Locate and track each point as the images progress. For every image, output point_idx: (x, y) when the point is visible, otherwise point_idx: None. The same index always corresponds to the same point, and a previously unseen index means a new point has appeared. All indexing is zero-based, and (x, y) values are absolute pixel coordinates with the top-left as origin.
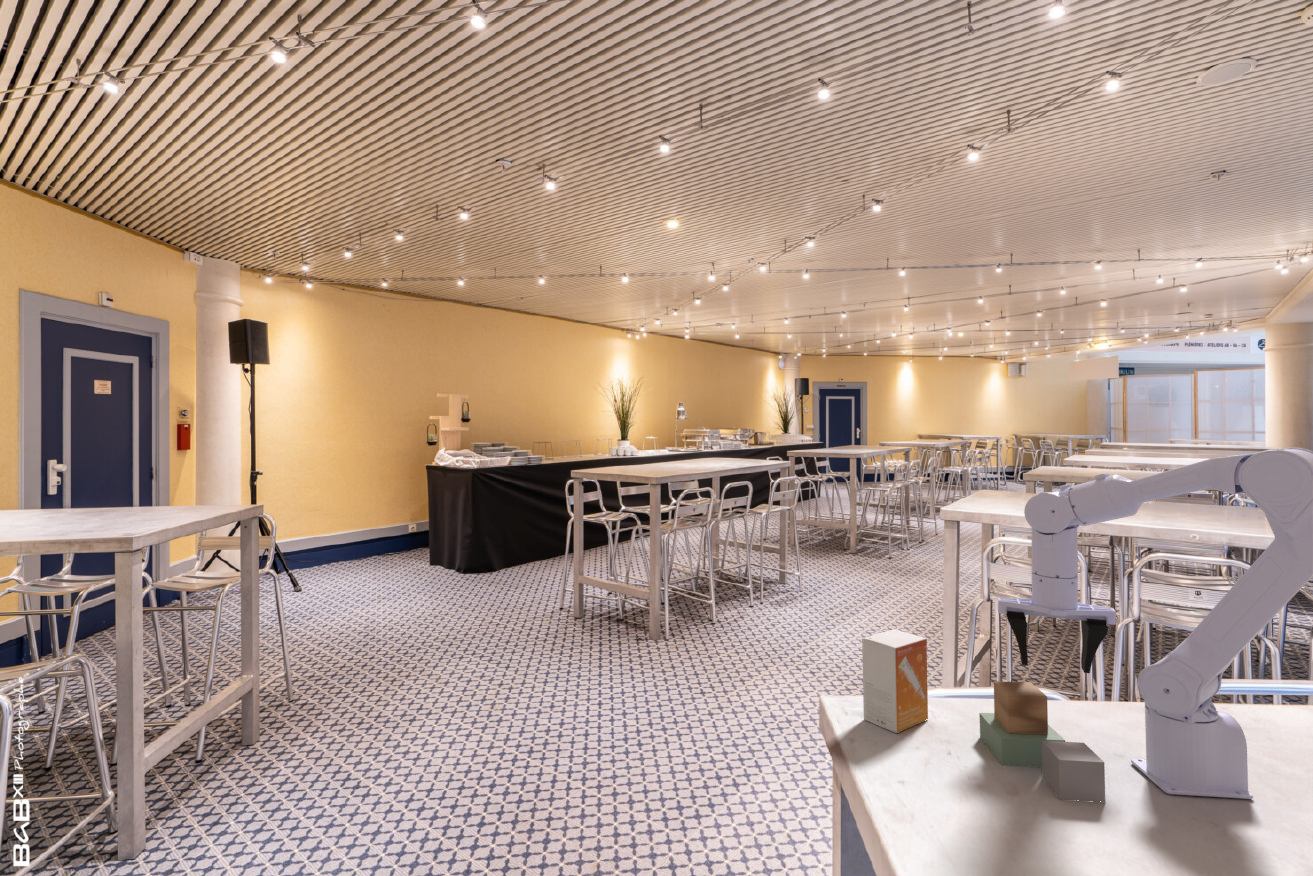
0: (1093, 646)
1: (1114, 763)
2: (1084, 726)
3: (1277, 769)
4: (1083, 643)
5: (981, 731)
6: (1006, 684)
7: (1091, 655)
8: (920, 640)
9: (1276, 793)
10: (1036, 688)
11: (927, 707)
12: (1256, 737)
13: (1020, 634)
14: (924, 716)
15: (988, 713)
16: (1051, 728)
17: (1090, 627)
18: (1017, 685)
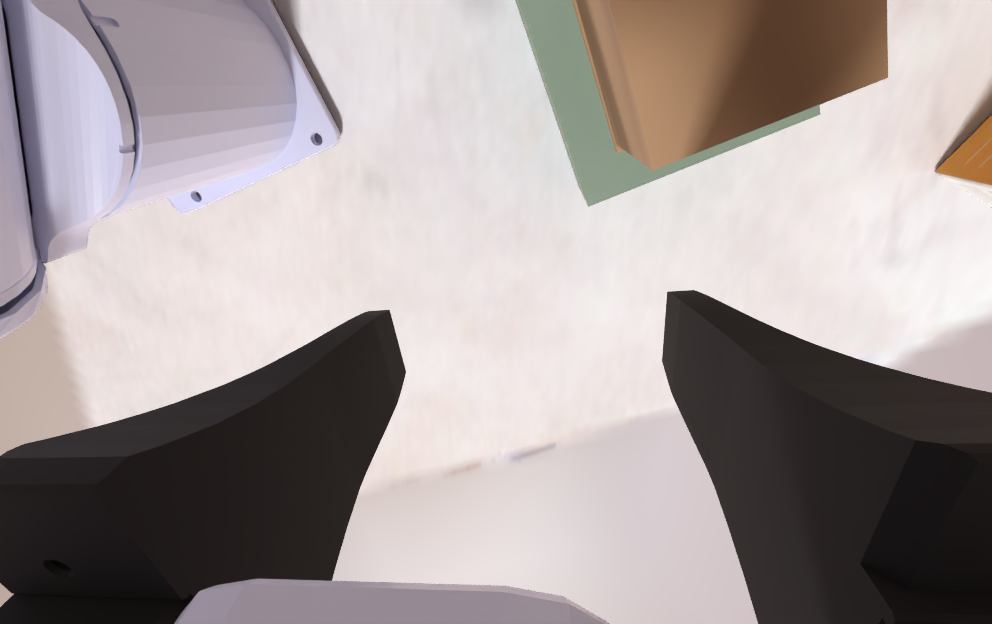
0: (247, 383)
1: (381, 115)
2: (457, 332)
3: (84, 272)
4: (344, 469)
5: None
6: (815, 53)
7: (304, 353)
8: None
9: None
10: (636, 73)
11: (980, 178)
12: None
13: (852, 380)
14: (970, 154)
15: (780, 127)
16: (550, 79)
17: (76, 486)
18: (746, 66)
